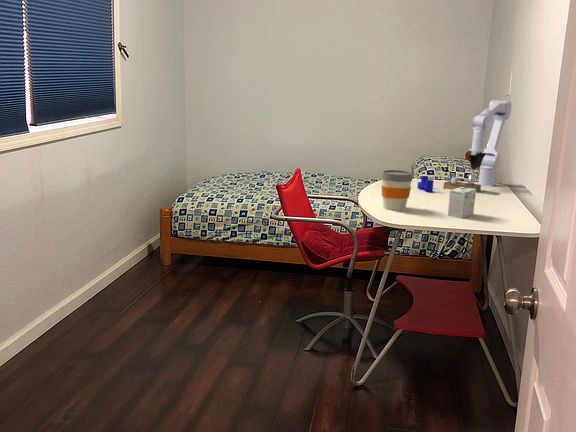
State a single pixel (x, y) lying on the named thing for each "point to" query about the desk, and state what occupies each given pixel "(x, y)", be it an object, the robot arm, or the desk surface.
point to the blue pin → (454, 180)
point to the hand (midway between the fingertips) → (475, 168)
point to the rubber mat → (490, 193)
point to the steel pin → (471, 179)
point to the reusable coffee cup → (395, 189)
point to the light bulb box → (461, 202)
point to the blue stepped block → (426, 184)
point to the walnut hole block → (460, 185)
